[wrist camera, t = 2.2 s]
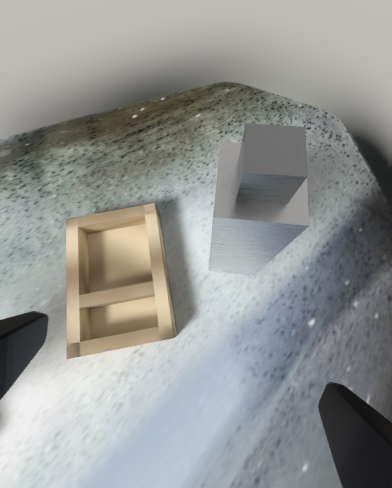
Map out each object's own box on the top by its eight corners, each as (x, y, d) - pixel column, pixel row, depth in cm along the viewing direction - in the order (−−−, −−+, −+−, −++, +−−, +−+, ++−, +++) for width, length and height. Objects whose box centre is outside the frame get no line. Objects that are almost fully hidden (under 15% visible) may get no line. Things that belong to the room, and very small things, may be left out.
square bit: (252, 275, 20) (336, 202, 7) (208, 270, 21) (215, 192, 8) (254, 234, 22) (327, 110, 9) (212, 230, 22) (224, 104, 9)
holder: (177, 335, 19) (173, 338, 17) (81, 354, 19) (66, 359, 17) (159, 213, 23) (154, 203, 20) (79, 228, 22) (66, 219, 20)
